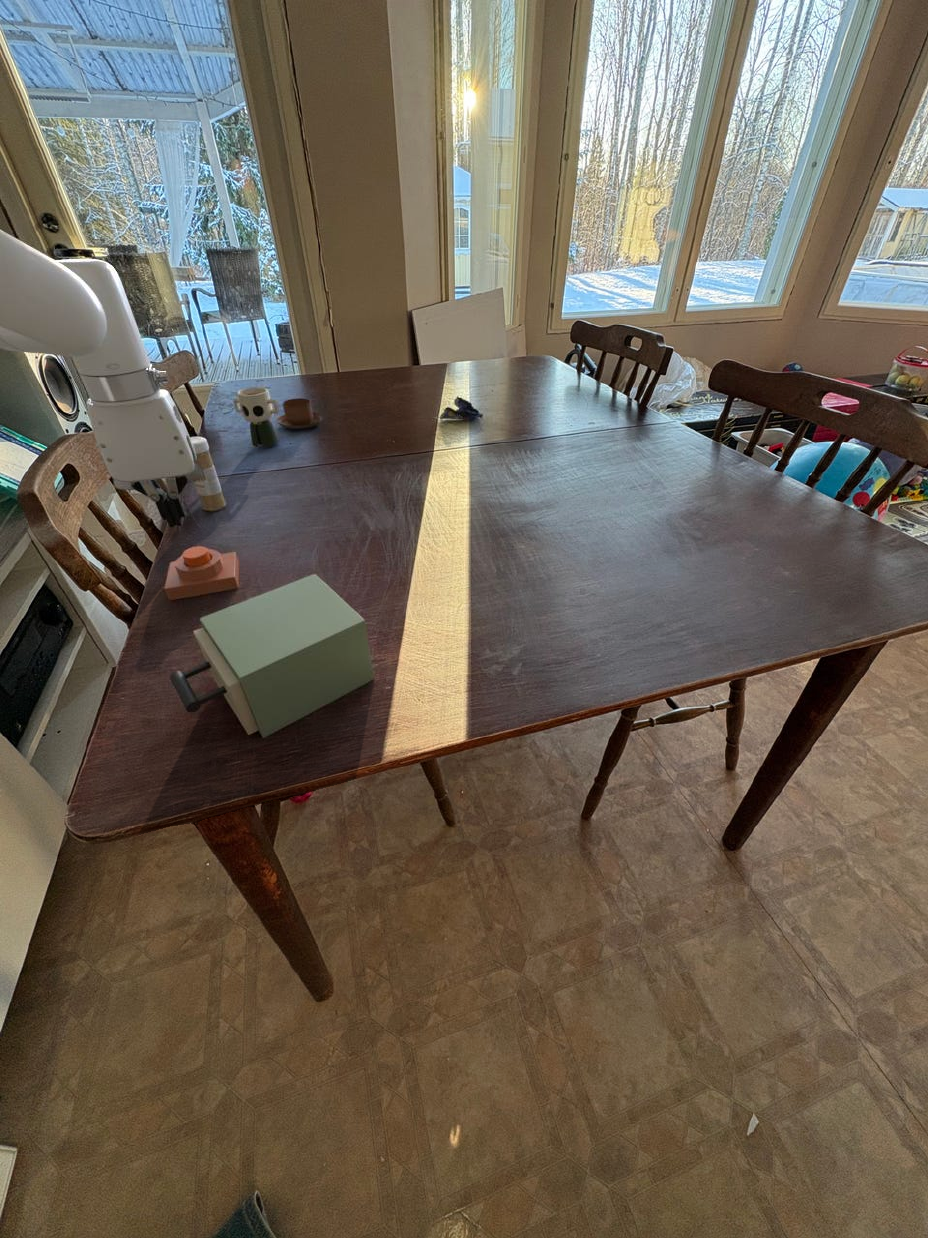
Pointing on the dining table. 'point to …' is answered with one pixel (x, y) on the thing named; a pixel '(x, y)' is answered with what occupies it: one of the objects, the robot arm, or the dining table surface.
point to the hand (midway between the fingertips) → (177, 522)
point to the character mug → (258, 414)
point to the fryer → (292, 650)
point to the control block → (202, 576)
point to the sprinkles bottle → (207, 477)
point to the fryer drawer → (222, 677)
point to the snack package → (460, 410)
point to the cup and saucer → (298, 414)
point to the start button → (196, 556)
